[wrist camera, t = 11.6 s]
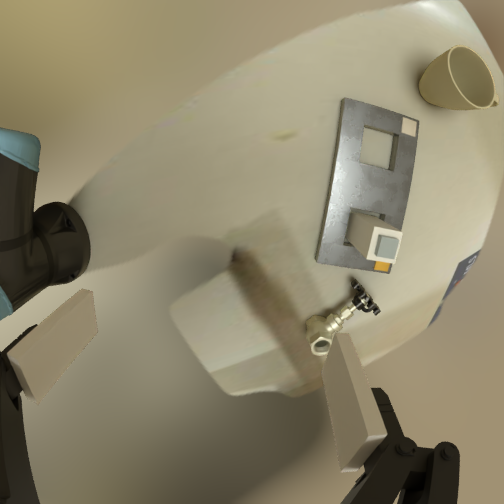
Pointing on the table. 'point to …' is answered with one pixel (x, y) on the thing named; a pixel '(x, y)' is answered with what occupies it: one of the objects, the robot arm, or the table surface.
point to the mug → (459, 81)
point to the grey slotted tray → (366, 181)
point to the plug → (373, 237)
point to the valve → (336, 321)
